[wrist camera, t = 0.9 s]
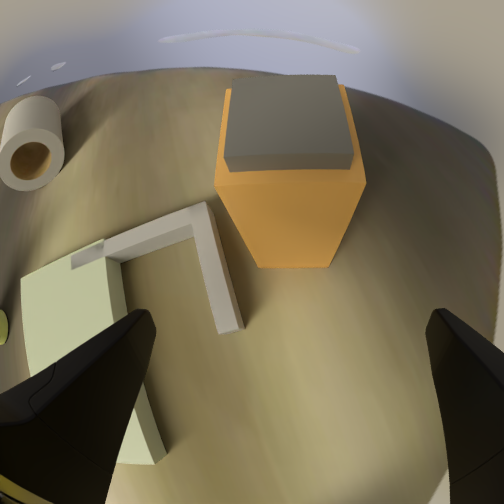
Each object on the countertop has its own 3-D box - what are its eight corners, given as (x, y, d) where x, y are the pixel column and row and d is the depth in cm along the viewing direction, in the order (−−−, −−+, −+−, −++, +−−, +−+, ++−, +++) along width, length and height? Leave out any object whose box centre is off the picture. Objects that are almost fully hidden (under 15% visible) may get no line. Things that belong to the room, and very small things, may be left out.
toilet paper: (78, 156, 30) (33, 113, 21) (31, 200, 30) (-16, 170, 20) (71, 121, 33) (37, 83, 24) (30, 160, 33) (-7, 130, 24)
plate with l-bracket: (278, 439, 18) (276, 451, 16) (67, 448, 19) (53, 453, 17) (213, 211, 24) (204, 198, 22) (35, 283, 26) (20, 278, 23)
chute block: (328, 267, 21) (372, 167, 8) (258, 268, 22) (206, 171, 9) (324, 204, 23) (345, 68, 10) (260, 205, 24) (221, 73, 11)
